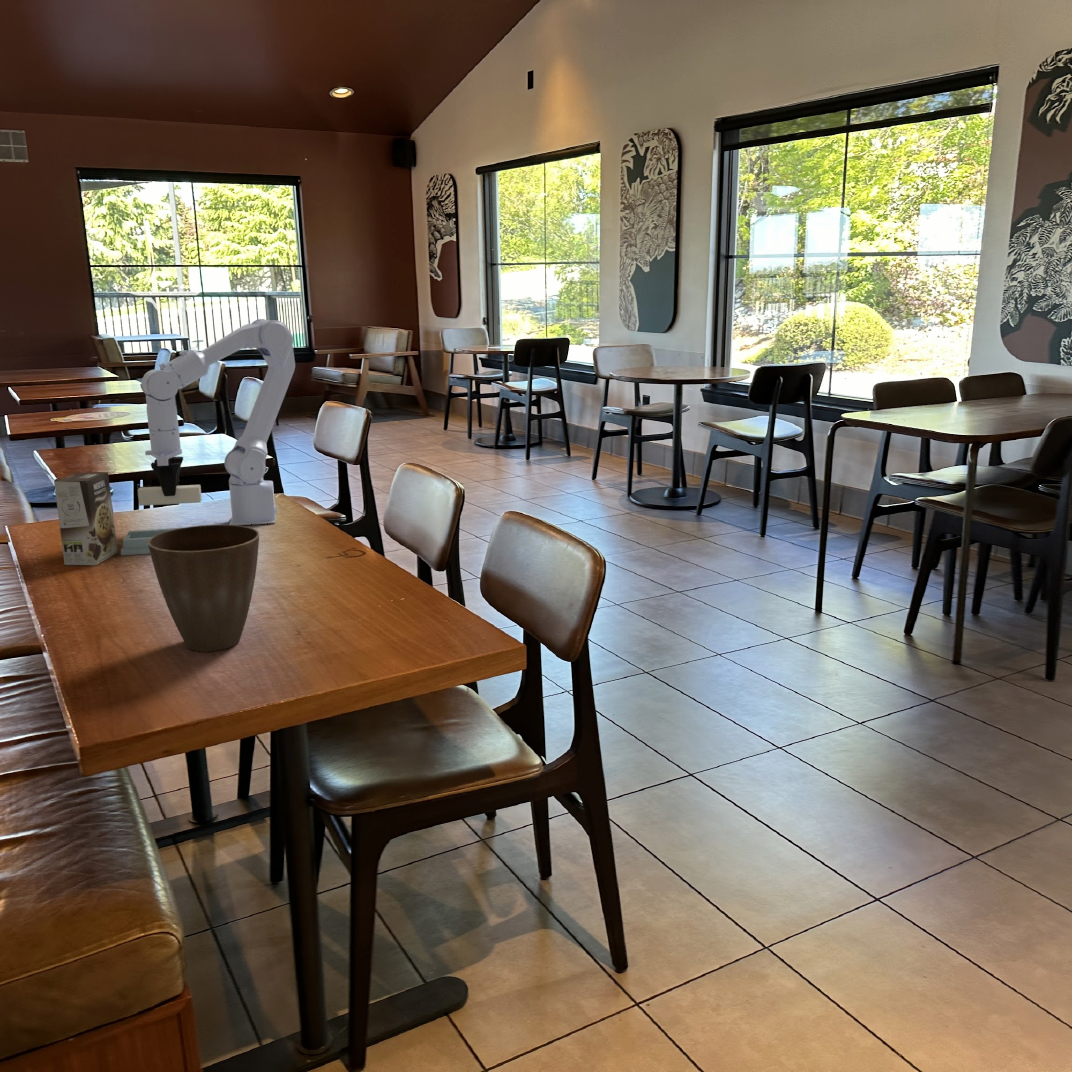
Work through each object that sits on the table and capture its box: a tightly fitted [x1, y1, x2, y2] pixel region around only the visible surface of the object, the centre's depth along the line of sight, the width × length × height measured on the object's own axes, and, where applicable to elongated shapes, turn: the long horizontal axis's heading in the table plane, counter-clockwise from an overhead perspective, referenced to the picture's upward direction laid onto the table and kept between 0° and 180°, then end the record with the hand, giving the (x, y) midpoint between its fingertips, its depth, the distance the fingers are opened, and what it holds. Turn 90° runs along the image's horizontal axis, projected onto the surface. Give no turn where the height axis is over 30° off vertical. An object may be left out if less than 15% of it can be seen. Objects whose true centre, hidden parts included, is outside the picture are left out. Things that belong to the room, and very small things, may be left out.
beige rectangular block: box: [137, 484, 202, 506], centre depth 199 cm, size 12×3×3 cm, turn 104°
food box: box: [53, 471, 118, 566], centre depth 180 cm, size 9×6×16 cm
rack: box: [120, 527, 180, 556], centre depth 189 cm, size 16×9×3 cm, turn 104°
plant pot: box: [148, 524, 260, 653], centre depth 137 cm, size 15×15×16 cm
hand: (170, 493), depth 199 cm, fingers closed on beige rectangular block, 3 cm apart
